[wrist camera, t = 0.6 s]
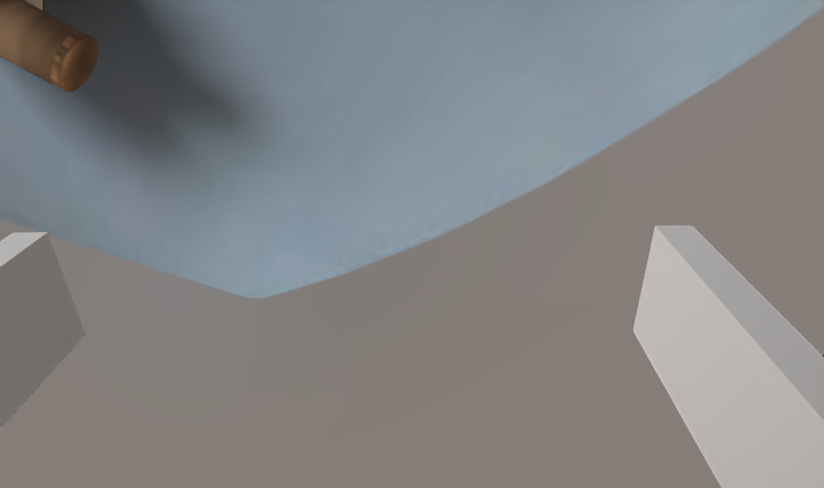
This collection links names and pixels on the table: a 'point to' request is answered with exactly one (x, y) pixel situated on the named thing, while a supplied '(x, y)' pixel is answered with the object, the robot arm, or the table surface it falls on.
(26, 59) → the dowel
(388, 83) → the table surface
